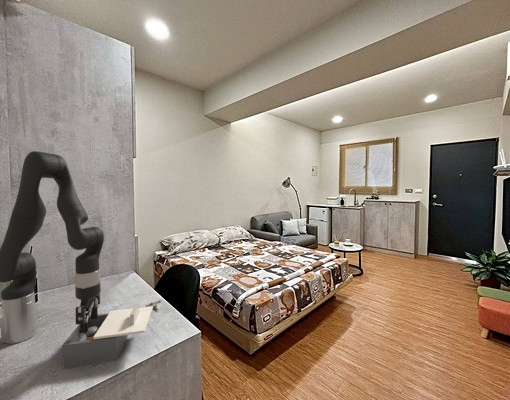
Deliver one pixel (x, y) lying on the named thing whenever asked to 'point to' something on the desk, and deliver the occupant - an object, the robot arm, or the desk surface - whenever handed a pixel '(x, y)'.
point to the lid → (124, 322)
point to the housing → (91, 346)
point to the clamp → (153, 305)
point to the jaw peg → (91, 333)
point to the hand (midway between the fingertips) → (89, 325)
